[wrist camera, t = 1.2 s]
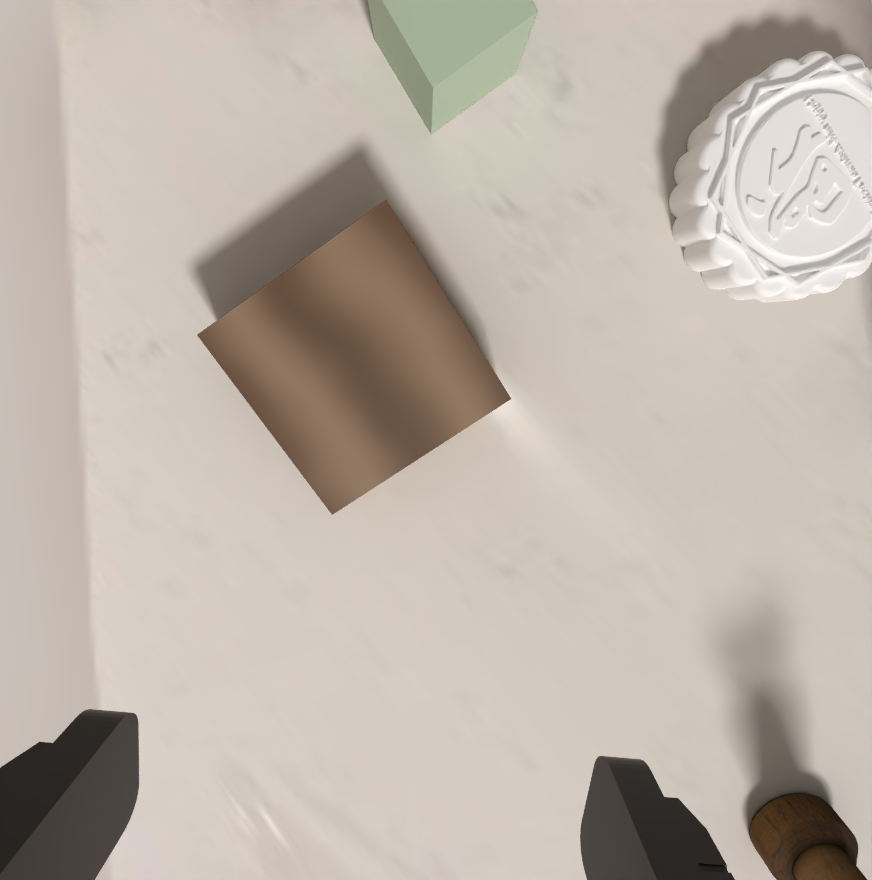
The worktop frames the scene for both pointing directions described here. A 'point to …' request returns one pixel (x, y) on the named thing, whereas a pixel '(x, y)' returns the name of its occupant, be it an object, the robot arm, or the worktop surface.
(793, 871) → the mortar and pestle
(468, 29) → the sage block
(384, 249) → the walnut block
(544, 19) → the worktop surface
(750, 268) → the mooncake
